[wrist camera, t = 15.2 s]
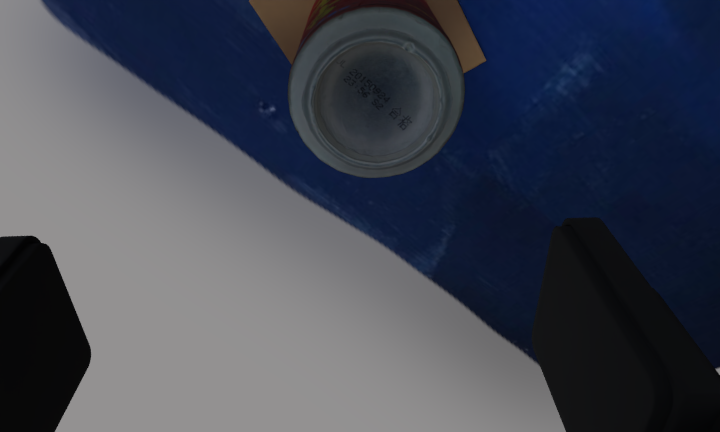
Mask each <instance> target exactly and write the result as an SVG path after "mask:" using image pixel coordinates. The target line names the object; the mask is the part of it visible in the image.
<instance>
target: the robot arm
mask: <svg viewBox="0 0 720 432" xmlns="http://www.w3.org/2000/svg"><path fill="white" fill-rule="evenodd" d="M532 343H533V348H534V352H535V354H536V357H537V359H538V362H539V364H540V367H541V369H542V372H543V374H544V377H545V380H546V382H547V385H548V387H549V389H550V392H551V395H552V397H553V400H554V402H555V405H556V407H557V410H558V412H559V415H560V417H561V420H562V422H563V425H564V427H565V430H566V432H720V375H719V374H718V372H717V371H716V370H715V368H714V367H713V366H712V364H711V363H710V362H709V360H708V359H707V358H706V356H705V355H704V354H703V352H702V351H701V350H700V348H699V347H698V346H697V344H696V343H695V342H694V340H693V339H692V337H691V336H690V335H689V333H688V332H687V331H686V329H685V328H684V327H683V325H682V324H681V323H680V321H679V320H678V319H677V317H676V316H675V315H674V313H673V312H672V311H671V309H670V308H669V307H668V305H667V304H666V303H665V301H664V300H663V299H662V297H661V296H660V295H659V294H658V293H657V292H656V291H655V290H654V289H653V288H651V286H650V285H649V283H648V282H647V281H646V279H645V278H644V277H643V275H642V274H641V273H640V271H639V270H638V269H637V267H636V266H635V265H634V263H633V262H632V260H631V259H630V258H629V256H628V255H627V254H626V252H625V251H624V250H623V248H622V247H621V246H620V244H619V243H618V242H617V240H616V239H615V237H614V236H613V235H612V233H611V232H610V231H609V229H608V228H607V227H606V225H605V224H604V223H603V221H602V220H601V219H600V218H596V217H595V218H567V219H565V220H564V222H563V224H562V226H556V227H555V228H554V229H553V232H552V236H551V241H550V246H549V251H548V256H547V261H546V266H545V271H544V276H543V281H542V286H541V291H540V296H539V301H538V306H537V311H536V316H535V321H534V325H533V330H532ZM90 359H91V349H90V345H89V343H88V340H87V338H86V335H85V333H84V331H83V328H82V326H81V323H80V321H79V318H78V316H77V313H76V311H75V308H74V306H73V303H72V301H71V298H70V296H69V294H68V291H67V289H66V286H65V284H64V281H63V279H62V276H61V274H60V272H59V269H58V267H57V264H56V261H55V259H54V257H53V254H52V252H51V249H50V248H49V246H48V245H47V244H44V243H41V242H40V240H38V238H36V237H34V236H11V237H10V236H9V237H0V432H55V430H56V428H57V426H58V424H59V422H60V420H61V418H62V416H63V415H64V412H65V411H66V409H67V407H68V405H69V403H70V401H71V399H72V397H73V395H74V393H75V391H76V390H77V388H78V385H79V384H80V382H81V380H82V378H83V376H84V374H85V372H86V370H87V368H88V366H89V364H90Z"/></svg>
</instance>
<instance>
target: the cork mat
mask: <svg viewBox="0 0 720 432" xmlns="http://www.w3.org/2000/svg"><path fill="white" fill-rule="evenodd" d="M315 1H316V0H249V2H250V4H251V5H252V7H253V8H254V10H255V11H256V13H257V14H258V16H259V17H260V19H261V20H262V21H263V23H264V24H265V26H266V27H267V29H268V30H269V32H270V33H271V35H272V36H273V38H274V39H275V41H276V42H277V44H278V45H279V47H280V48H281V50H282V51H283V53H284V54H285V56H286V57H287V59H288V60H289V62H290V63H291V64H293V61H294V58H295V55H296V53H297V50H298V47H299V44H300V40H301V38H302V35H303V32H304V29H305V27H306V24H307V20H308V17H309V15H310V12H311V10H312V7H313V5H314V3H315ZM425 1H426V2H427V4H428V6H429V7H430V9H431V11H432V12H433V14H434V16H435V17H436V19H437V20H438V22H439V23H440V25H441V27H442V28H443V30H444V32H445V33H446V35H447V36H448V37H449V39H450V41H451V43H452V45H453V47H454V48H455V50H456V52H457V55H458V57H459V60H460V63H461V66H462V69H463V73H465V72H467V71H469V70H471V69H473V68H474V67H476V66H478V65H480V64H481V63H483V62H485V61H486V59H485V57H484V54H483V52H482V50H481V48H480V46H479V44H478V42H477V40H476V38H475V36H474V34H473V32H472V30H471V28H470V25H469V23H468V21H467V19H466V17H465V15H464V13H463V11H462V9H461V7H460V5H459V3H458V1H457V0H425Z"/></svg>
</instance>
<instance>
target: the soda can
mask: <svg viewBox="0 0 720 432" xmlns="http://www.w3.org/2000/svg"><path fill="white" fill-rule="evenodd" d="M464 95H465V84H464V73H463V69H462V66H461V63H460V60H459V57H458V55H457V52H456V50H455V48H454V47H453V45H452V43H451V41H450V39H449V37H448V36H447V35H446V33H445V32H444V30H443V28H442V27H441V25H440V23H439V22H438V20H437V19H436V17H435V16H434V14H433V12H432V11H431V9H430V7H429V6H428V4H427V2H426V1H425V0H316V1H315V3H314V5H313V7H312V10H311V12H310V15H309V17H308V20H307V24H306V27H305V29H304V32H303V35H302V38H301V40H300V44H299V47H298V50H297V53H296V55H295V58H294V61H293V64H292V67H291V70H290V74H289V83H288V102H289V109H290V115H291V117H292V120H293V123H294V126H295V128H296V130H297V132H298V133H299V135H300V137H301V138H302V140H303V142H304V143H305V145H306V146H307V147H308V148H309V149H310V150H311V151H312V152H313V153H314V154H315V155H316V156H317V157H318V158H319V159H320V160H321V161H323V162H324V163H326V164H328V165H329V166H331V167H333V168H335V169H336V170H338V171H341V172H344V173H347V174H351V175H354V176H359V177H364V178H377V177H389V176H394V175H399V174H403V173H406V172H408V171H411V170H413V169H415V168H417V167H419V166H421V165H422V164H424V163H425V162H427V161H428V160H430V159H431V158H432V157H434V156H435V155H436V154H437V153H438V152H439V151H440V150H441V149H442V147H443V146H444V145H445V144H446V142H447V141H448V140H449V138H450V137H451V135H452V134H453V132H454V131H455V129H456V126H457V124H458V121H459V119H460V116H461V113H462V110H463V105H464Z"/></svg>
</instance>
